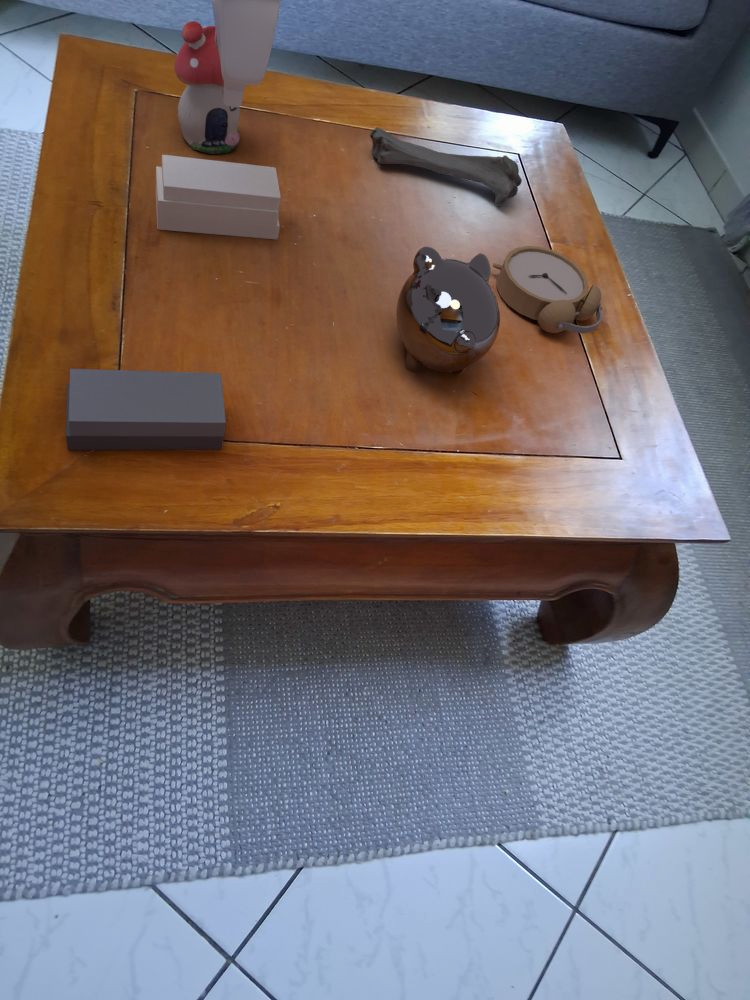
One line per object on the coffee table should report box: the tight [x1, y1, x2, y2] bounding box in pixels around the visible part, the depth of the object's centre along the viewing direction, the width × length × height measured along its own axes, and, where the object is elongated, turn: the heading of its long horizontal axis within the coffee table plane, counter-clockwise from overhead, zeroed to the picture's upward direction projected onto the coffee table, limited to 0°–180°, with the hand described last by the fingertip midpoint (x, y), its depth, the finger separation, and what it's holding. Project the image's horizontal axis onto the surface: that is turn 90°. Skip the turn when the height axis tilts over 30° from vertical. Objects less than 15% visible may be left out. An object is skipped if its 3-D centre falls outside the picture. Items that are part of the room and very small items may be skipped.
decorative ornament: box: [173, 20, 241, 155], centre depth 93 cm, size 9×6×15 cm
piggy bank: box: [395, 246, 501, 375], centre depth 84 cm, size 11×15×12 cm
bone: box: [369, 126, 523, 207], centre depth 105 cm, size 22×6×6 cm, turn 83°
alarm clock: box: [492, 245, 603, 334], centre depth 97 cm, size 11×5×15 cm
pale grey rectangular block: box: [161, 154, 282, 211], centre depth 88 cm, size 13×6×2 cm, turn 100°
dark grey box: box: [65, 368, 227, 451], centre depth 72 cm, size 14×6×4 cm, turn 100°
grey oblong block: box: [155, 166, 281, 240], centre depth 90 cm, size 14×6×4 cm, turn 100°
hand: (227, 74), depth 77 cm, fingers open, 8 cm apart
